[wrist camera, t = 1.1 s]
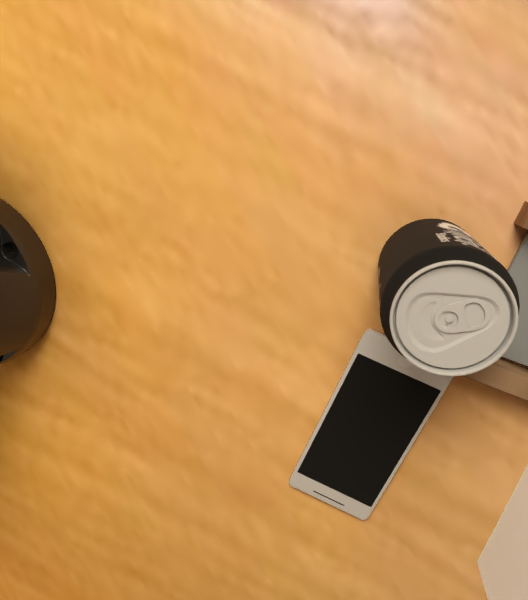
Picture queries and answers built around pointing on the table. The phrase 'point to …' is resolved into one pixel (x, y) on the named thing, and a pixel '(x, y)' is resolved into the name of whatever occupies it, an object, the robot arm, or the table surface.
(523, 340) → the grey rubber pad
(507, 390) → the walnut U-rest
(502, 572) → the robot arm
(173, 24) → the table surface
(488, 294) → the beverage can
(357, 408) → the smartphone
